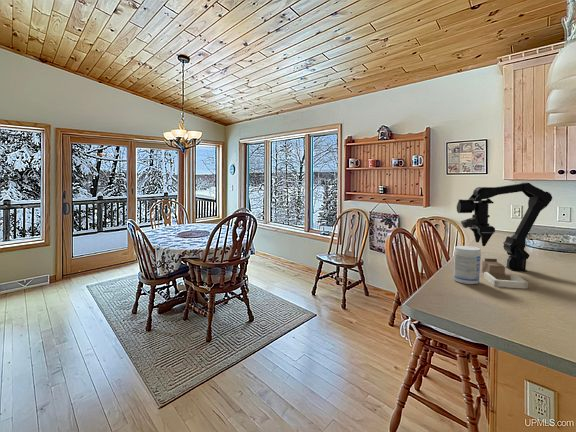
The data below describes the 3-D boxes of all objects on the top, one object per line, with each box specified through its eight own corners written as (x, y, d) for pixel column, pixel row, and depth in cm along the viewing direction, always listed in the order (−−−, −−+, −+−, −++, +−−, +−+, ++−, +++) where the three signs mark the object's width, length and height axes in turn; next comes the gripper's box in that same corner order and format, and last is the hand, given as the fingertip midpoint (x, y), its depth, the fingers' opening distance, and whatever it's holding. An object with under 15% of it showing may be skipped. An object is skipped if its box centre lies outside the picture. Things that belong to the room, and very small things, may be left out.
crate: (481, 271, 142) (482, 257, 142) (496, 272, 141) (497, 258, 140) (489, 276, 134) (489, 262, 133) (504, 277, 132) (505, 263, 131)
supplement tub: (482, 286, 121) (484, 250, 120) (456, 283, 124) (458, 249, 123) (475, 278, 131) (477, 246, 129) (451, 277, 133) (452, 244, 132)
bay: (483, 277, 133) (484, 271, 132) (513, 279, 129) (513, 273, 129) (494, 286, 121) (495, 280, 121) (527, 288, 118) (528, 282, 118)
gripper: (457, 211, 156) (457, 240, 158) (468, 214, 138) (467, 247, 140) (481, 211, 153) (481, 240, 155) (495, 214, 135) (494, 248, 137)
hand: (480, 244), depth 147 cm, fingers open, 9 cm apart
